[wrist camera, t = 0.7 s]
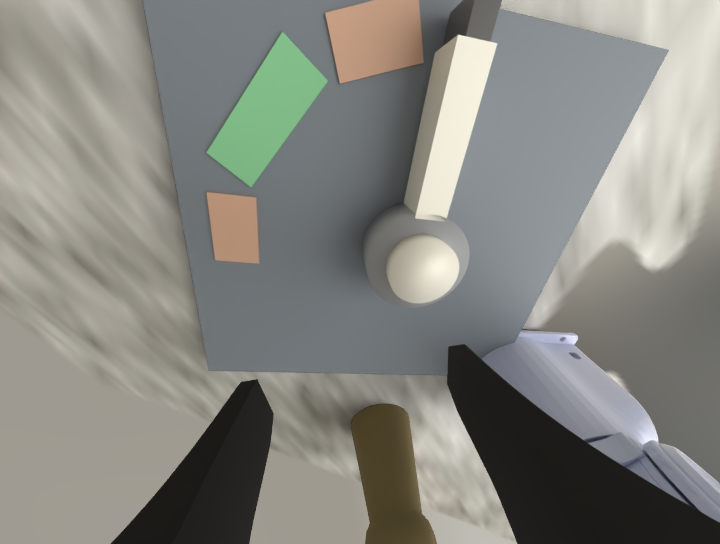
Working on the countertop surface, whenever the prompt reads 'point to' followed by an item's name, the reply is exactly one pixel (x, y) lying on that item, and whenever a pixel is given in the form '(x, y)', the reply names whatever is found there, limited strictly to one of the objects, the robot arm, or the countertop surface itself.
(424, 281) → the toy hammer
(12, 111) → the countertop surface
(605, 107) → the board
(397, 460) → the cork
